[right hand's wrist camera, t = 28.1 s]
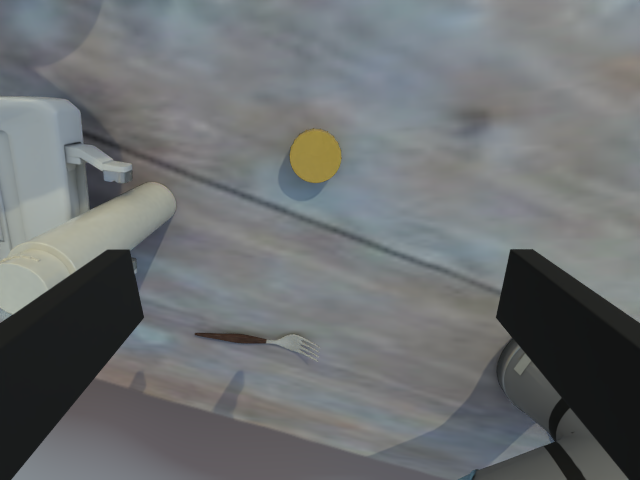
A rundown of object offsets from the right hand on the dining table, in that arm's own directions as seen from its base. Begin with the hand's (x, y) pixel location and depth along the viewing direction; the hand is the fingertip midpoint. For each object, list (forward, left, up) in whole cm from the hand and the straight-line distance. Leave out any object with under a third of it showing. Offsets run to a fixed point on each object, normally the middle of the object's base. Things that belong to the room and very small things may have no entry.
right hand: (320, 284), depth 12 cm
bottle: (-3, +18, -27) cm, 33 cm away
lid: (+1, 0, -25) cm, 25 cm away
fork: (-22, +10, -27) cm, 36 cm away
